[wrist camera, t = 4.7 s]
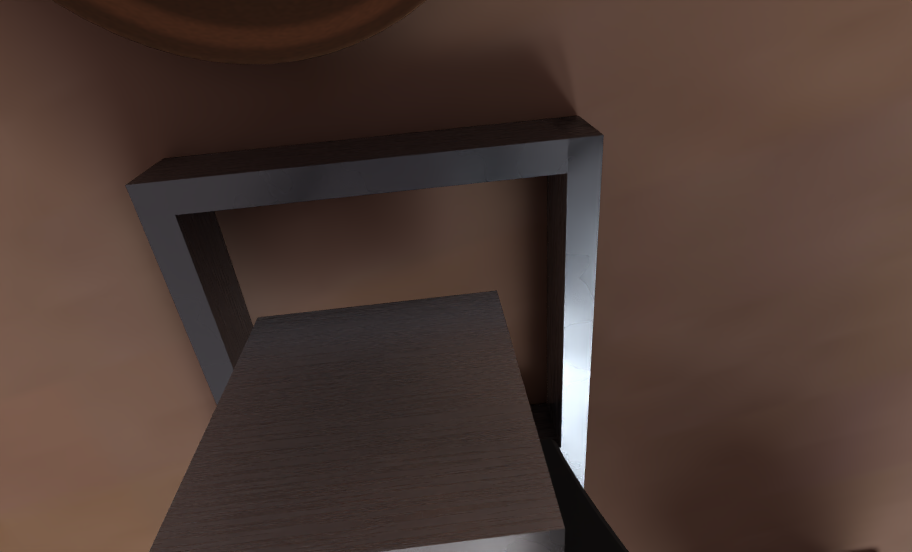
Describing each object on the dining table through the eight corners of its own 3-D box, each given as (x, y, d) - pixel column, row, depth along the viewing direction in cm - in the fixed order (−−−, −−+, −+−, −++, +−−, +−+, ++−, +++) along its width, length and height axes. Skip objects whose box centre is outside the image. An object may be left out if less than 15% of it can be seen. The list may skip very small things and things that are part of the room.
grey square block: (505, 457, 13) (563, 743, 8) (311, 480, 13) (248, 785, 8) (496, 290, 11) (571, 552, 6) (257, 317, 11) (121, 609, 6)
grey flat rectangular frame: (563, 576, 23) (576, 624, 22) (328, 606, 23) (322, 657, 21) (578, 115, 13) (603, 135, 12) (163, 158, 13) (125, 185, 11)
